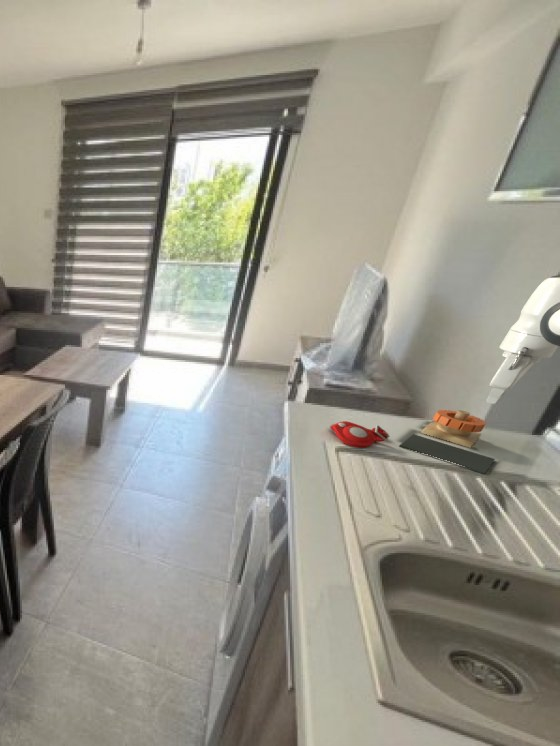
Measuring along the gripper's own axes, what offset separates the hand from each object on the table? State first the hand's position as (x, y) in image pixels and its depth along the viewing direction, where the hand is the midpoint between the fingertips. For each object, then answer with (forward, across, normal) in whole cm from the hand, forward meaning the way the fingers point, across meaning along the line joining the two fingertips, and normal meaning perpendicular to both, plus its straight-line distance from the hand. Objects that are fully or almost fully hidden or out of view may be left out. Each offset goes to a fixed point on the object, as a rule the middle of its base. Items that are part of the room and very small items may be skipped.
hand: (494, 399), depth 120 cm
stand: (+12, 0, +4) cm, 13 cm away
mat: (+12, -15, +2) cm, 19 cm away
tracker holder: (+12, -27, +17) cm, 34 cm away
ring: (+9, 0, +4) cm, 9 cm away
